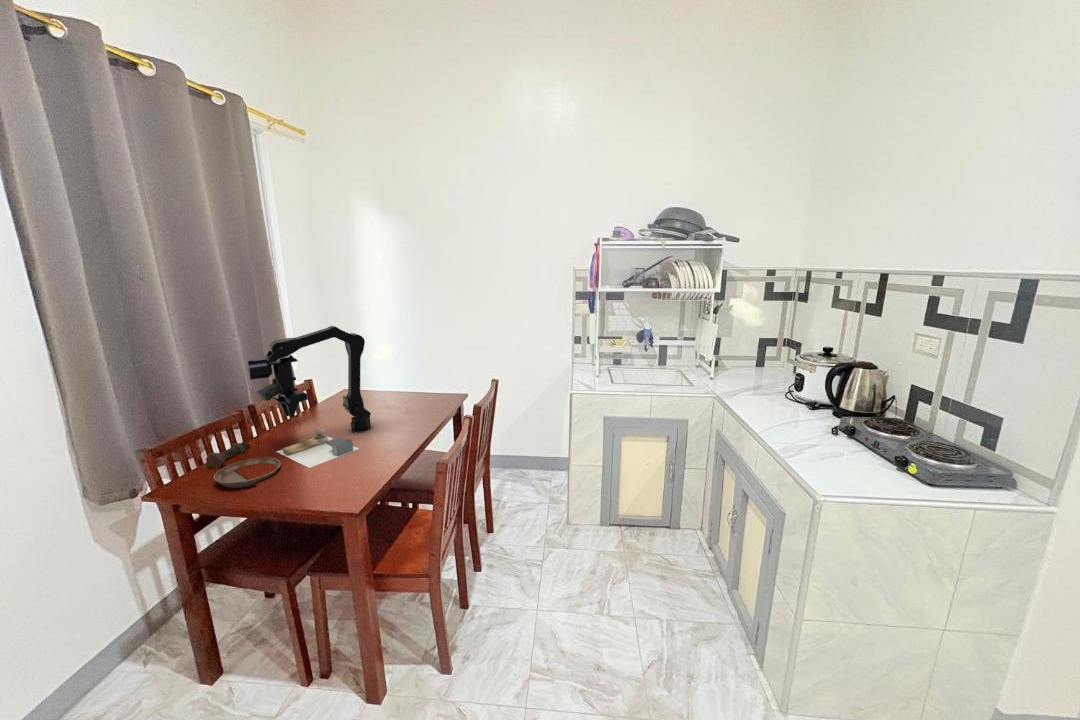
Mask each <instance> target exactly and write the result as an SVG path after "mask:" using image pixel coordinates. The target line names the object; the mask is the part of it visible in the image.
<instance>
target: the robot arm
mask: <svg viewBox="0 0 1080 720" xmlns="http://www.w3.org/2000/svg"><path fill="white" fill-rule="evenodd" d="M332 338H335V339H337V340H340V341H342V342H344V346H345V350H346V353H347V359H348V364H347V365H348V371H347V372H348V376H347V377H348V378H347V380H348V381H347V382H348V384H347V385H348V386H347V390H348V391H347V393H346V395H343V396H342V401H343V403H342V406H343V408H344V410H345V411H346V412H347V413H349V414H350V415H351V416H352V417H351V422H350V426H351V427H350V428H351V432H352V433H359V432H361V433H362V432H365V431H368V430H370V428H371V427H372V424H371V415H372V412H370V411H369V410H368V409H366V408H365V406H364V399H363V397H362V394H361V358H362V355H363V352H364V349H365V344H366V341H365V338H364V336H361V334H357V333H353V332H350V333H349V332H347V331H344V330H342V329H340V328H339V327H338V326H335V325H329V326H327V327H326V328H322V329H319V330H316V331H312V332H310V333H307V334H302V335H300V336H297V337H288V338H287V337H286V338H280V339H275V340H272V341H271V342H270V343H269V350H268V352H267V353H266V355H265V356H264V358H261V359H260V358H259V359H249V360H247V373H248V374H247V375H248V379H249V381H254V380H260V379H261V380H262V379H267V378H270V377H271V376H272V375H274V378H272V380H271V382H272V383H271V384H270V383H269V384H268V385H267V386H265V387H262V388H261V389H259V390H257V393H258V396H259V397H260V399H261V400H263V401H266V402H269V401H271V400H274V401H275V402H278V403H279V405H280V406H281V408H282V410H283V413H284V415H285V417H289V418H290V419H291V418H294V417H295V414H296V412H297V409H298V407H299V405H300V403H301V402H304V401H308V400H309V395H308V394H307V393H306V392H304V391H301V390H298V387H296V385H295V381H296V380H297V377H296V376H294V370H293V364H292V363H296V362H298V359H297V358H296V357H294V356H293V355H292V354H294V353H295V352H297V351H299V350H300V349H302V348H305V347H308V346H311V345H315V344H318V343H320V342H323V341H327V340H330V339H332ZM272 367H273V368H272Z"/></svg>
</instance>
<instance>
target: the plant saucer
mask: <svg viewBox="0 0 1080 720" xmlns="http://www.w3.org/2000/svg"><path fill="white" fill-rule="evenodd" d="M257 464H271V465H274V466H276V468H275V469H274V470H273V471H270V472H269V473H267V474H264V475H262V476H259V477H255V478H252V479H250V478H249V477H246V476H245V475H243V474H241V473H240V472H238V471H237V469H240V468H243V467H247V466H251V465H257ZM280 467H281V461H280V460H279V459H278V458H274V457H255V458H250V459H245V460H241V461H237V462H234V463H232V464H229V465H227V466H224V467H221V469H219V470H217V471H216V473H215V474H214V476H213V479H214V481H215V482H217V483H218V484H220V485H221V486H224V487H226V488H235V489H237V488H240V489H241V488H245V487H246V488H247V487H250V486H254V485H257V483H258V482H260V481H264V480H265V479H268V478H270V477H272V476H273V475H275V473H276V472H278V470H279V468H280Z"/></svg>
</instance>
